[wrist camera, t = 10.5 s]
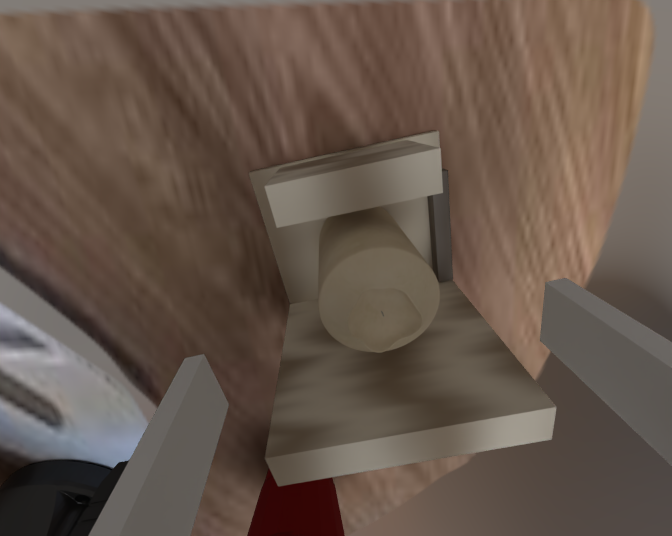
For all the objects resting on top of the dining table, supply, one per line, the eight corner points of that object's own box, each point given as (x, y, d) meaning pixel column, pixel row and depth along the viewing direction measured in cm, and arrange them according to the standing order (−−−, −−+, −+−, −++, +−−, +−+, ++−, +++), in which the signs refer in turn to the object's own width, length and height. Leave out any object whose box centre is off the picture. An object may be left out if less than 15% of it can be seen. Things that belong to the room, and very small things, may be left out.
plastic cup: (269, 496, 36) (247, 661, 25) (232, 436, 31) (185, 606, 20) (362, 477, 35) (381, 639, 24) (338, 412, 30) (348, 577, 19)
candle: (406, 206, 21) (471, 270, 12) (388, 279, 23) (431, 379, 14) (324, 194, 20) (328, 252, 11) (314, 270, 23) (309, 368, 14)
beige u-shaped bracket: (297, 320, 25) (278, 487, 14) (250, 171, 20) (160, 239, 9) (444, 291, 25) (551, 441, 13) (434, 130, 20) (595, 146, 8)
